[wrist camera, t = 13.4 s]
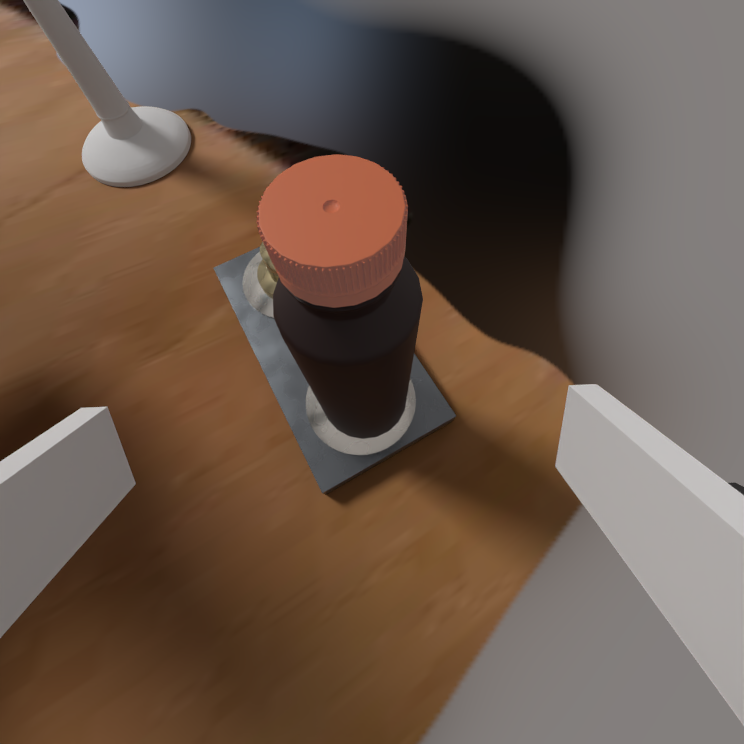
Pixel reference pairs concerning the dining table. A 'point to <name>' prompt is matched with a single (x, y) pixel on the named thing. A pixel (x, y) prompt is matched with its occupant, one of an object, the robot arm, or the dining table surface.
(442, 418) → the plate
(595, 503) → the robot arm
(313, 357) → the vinegar
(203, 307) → the dining table surface
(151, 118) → the candlestick
